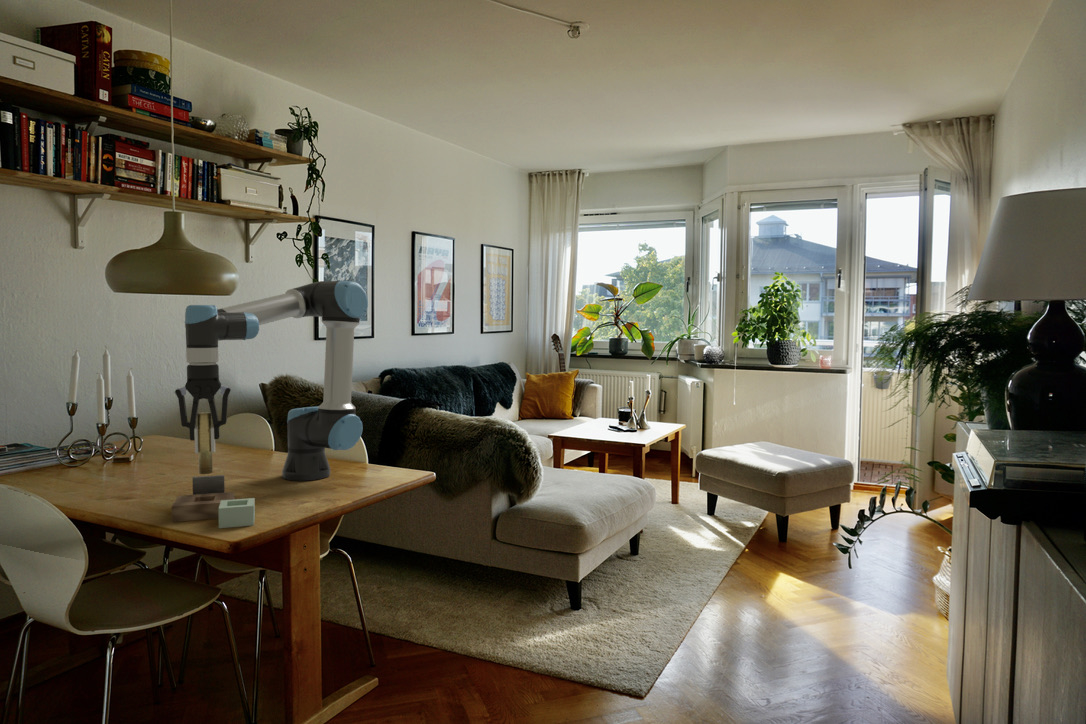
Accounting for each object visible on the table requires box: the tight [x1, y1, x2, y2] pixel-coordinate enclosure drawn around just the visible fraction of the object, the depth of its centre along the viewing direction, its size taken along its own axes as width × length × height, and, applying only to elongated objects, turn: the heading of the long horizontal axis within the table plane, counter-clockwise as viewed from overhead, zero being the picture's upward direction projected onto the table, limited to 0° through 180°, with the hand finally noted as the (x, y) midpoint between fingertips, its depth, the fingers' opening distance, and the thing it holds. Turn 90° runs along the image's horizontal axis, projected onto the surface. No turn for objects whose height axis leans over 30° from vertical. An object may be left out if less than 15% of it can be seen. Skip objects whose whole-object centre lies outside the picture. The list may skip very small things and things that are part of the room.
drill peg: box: [197, 411, 213, 475], centre depth 181 cm, size 3×3×16 cm
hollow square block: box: [218, 497, 256, 529], centre depth 174 cm, size 8×8×5 cm
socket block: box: [171, 491, 236, 523], centre depth 182 cm, size 14×11×4 cm
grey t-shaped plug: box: [192, 474, 226, 495], centre depth 188 cm, size 8×10×7 cm
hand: (205, 451), depth 181 cm, fingers closed on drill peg, 3 cm apart
